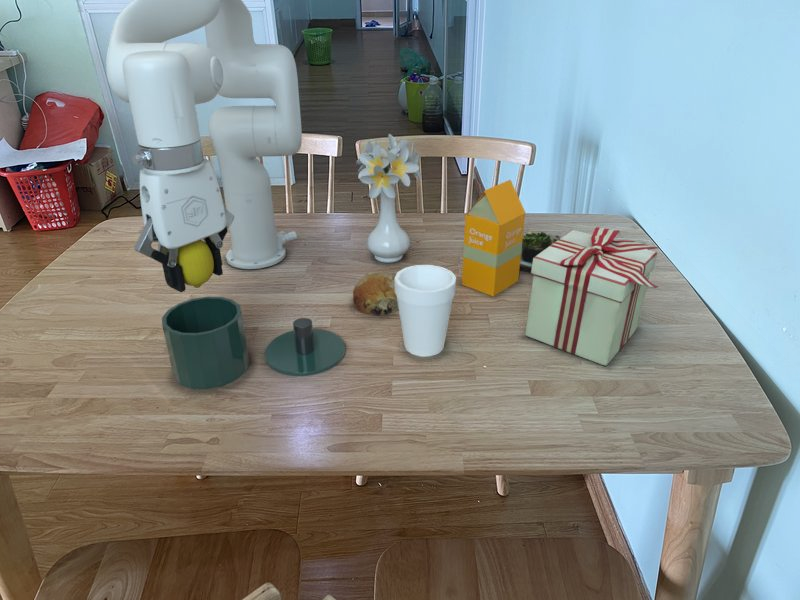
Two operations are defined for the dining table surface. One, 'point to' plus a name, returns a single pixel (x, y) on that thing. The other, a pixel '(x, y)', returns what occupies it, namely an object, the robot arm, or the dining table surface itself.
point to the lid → (304, 350)
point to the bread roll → (376, 294)
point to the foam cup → (424, 307)
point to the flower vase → (387, 195)
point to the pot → (206, 342)
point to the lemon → (195, 263)
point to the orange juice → (493, 240)
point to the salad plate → (534, 247)
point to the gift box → (589, 293)
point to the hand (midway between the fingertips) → (196, 279)
